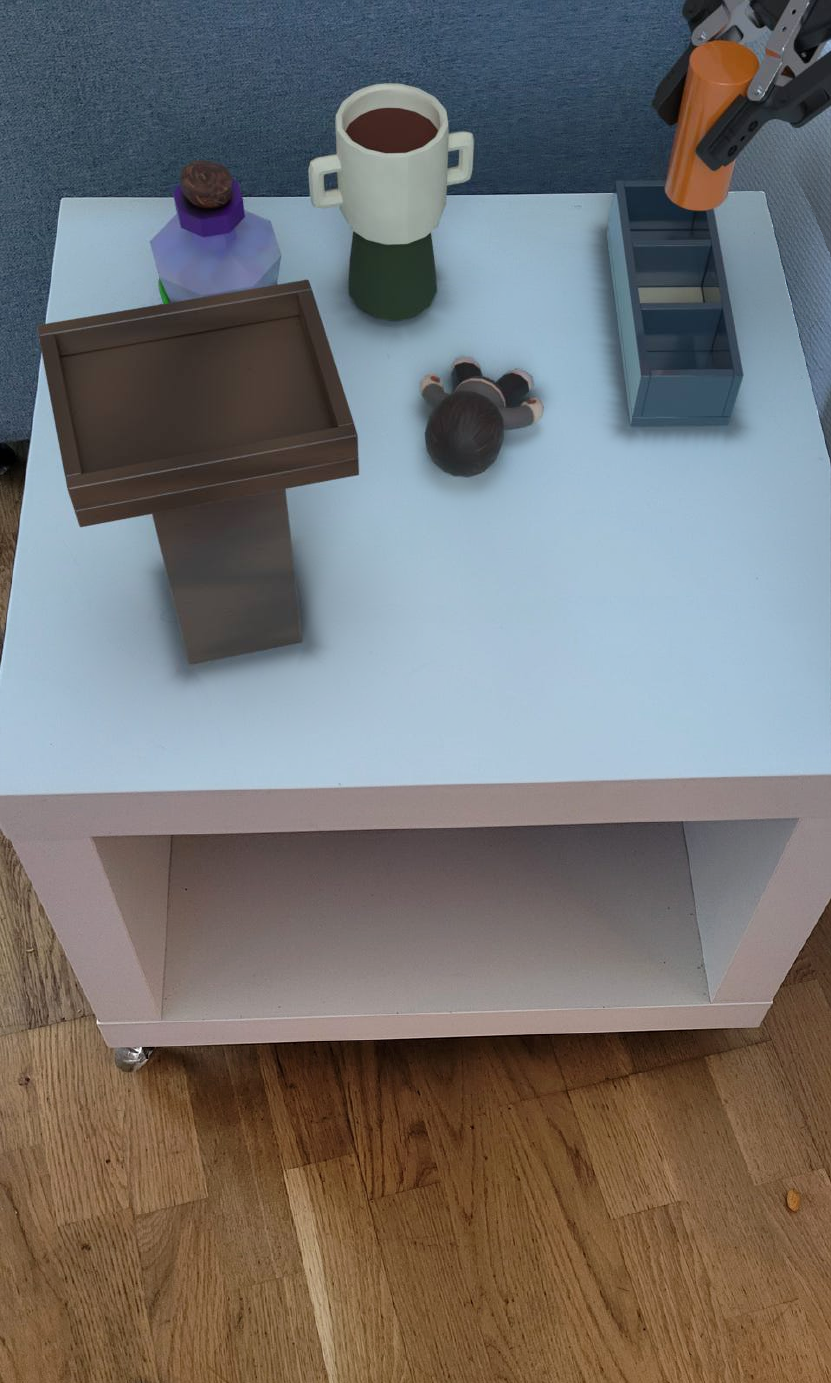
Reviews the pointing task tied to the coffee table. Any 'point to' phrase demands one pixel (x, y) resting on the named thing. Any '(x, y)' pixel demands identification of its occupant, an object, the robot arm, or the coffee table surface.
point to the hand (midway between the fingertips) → (683, 138)
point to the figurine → (475, 416)
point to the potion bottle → (213, 239)
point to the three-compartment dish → (671, 309)
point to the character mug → (391, 192)
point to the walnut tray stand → (205, 445)
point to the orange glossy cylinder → (706, 121)
